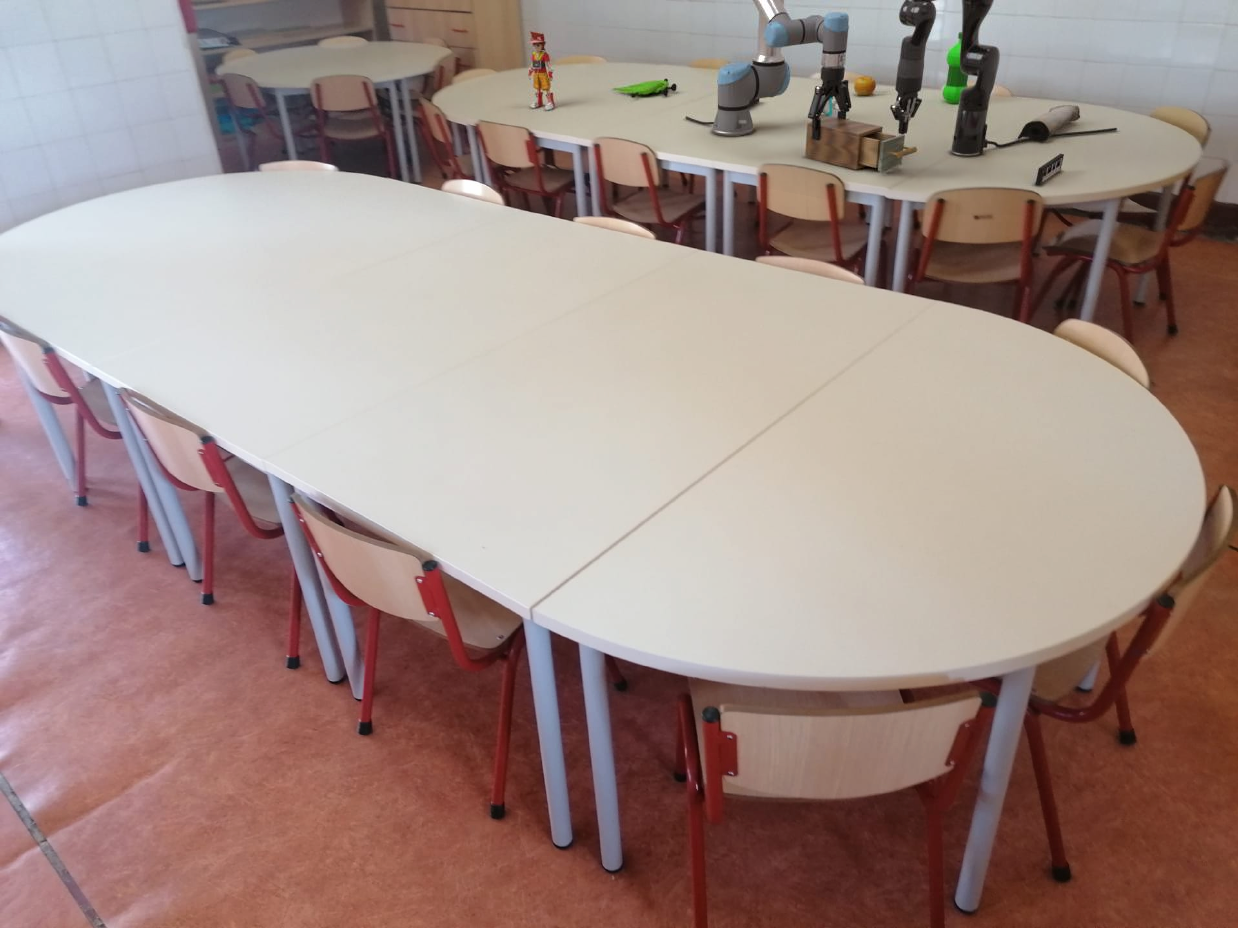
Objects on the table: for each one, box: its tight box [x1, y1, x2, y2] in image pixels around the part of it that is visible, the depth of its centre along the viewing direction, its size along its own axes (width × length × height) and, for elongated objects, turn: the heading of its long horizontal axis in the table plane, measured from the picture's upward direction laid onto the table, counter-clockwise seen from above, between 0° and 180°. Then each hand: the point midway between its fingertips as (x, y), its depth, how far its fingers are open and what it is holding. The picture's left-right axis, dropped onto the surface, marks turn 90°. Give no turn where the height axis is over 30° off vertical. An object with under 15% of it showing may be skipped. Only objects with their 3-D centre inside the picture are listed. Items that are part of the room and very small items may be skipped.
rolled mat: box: [1017, 104, 1081, 143], centre depth 313 cm, size 30×9×10 cm
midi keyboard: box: [1035, 153, 1065, 186], centre depth 273 cm, size 18×1×5 cm, turn 138°
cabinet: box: [804, 116, 883, 171], centre depth 298 cm, size 22×12×11 cm, turn 38°
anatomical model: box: [822, 97, 851, 120], centre depth 342 cm, size 15×10×10 cm
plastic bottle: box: [942, 31, 969, 104], centre depth 348 cm, size 10×10×25 cm
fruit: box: [853, 75, 877, 96], centre depth 370 cm, size 8×9×8 cm
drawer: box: [859, 131, 918, 172], centre depth 289 cm, size 26×10×9 cm, turn 38°
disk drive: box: [749, 99, 760, 108], centre depth 367 cm, size 10×3×15 cm
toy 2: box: [612, 78, 677, 99], centre depth 396 cm, size 28×5×30 cm
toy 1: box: [527, 31, 556, 111], centre depth 374 cm, size 12×9×30 cm
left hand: (828, 136), depth 301 cm, fingers closed on cabinet, 12 cm apart
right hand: (902, 133), depth 279 cm, fingers closed
